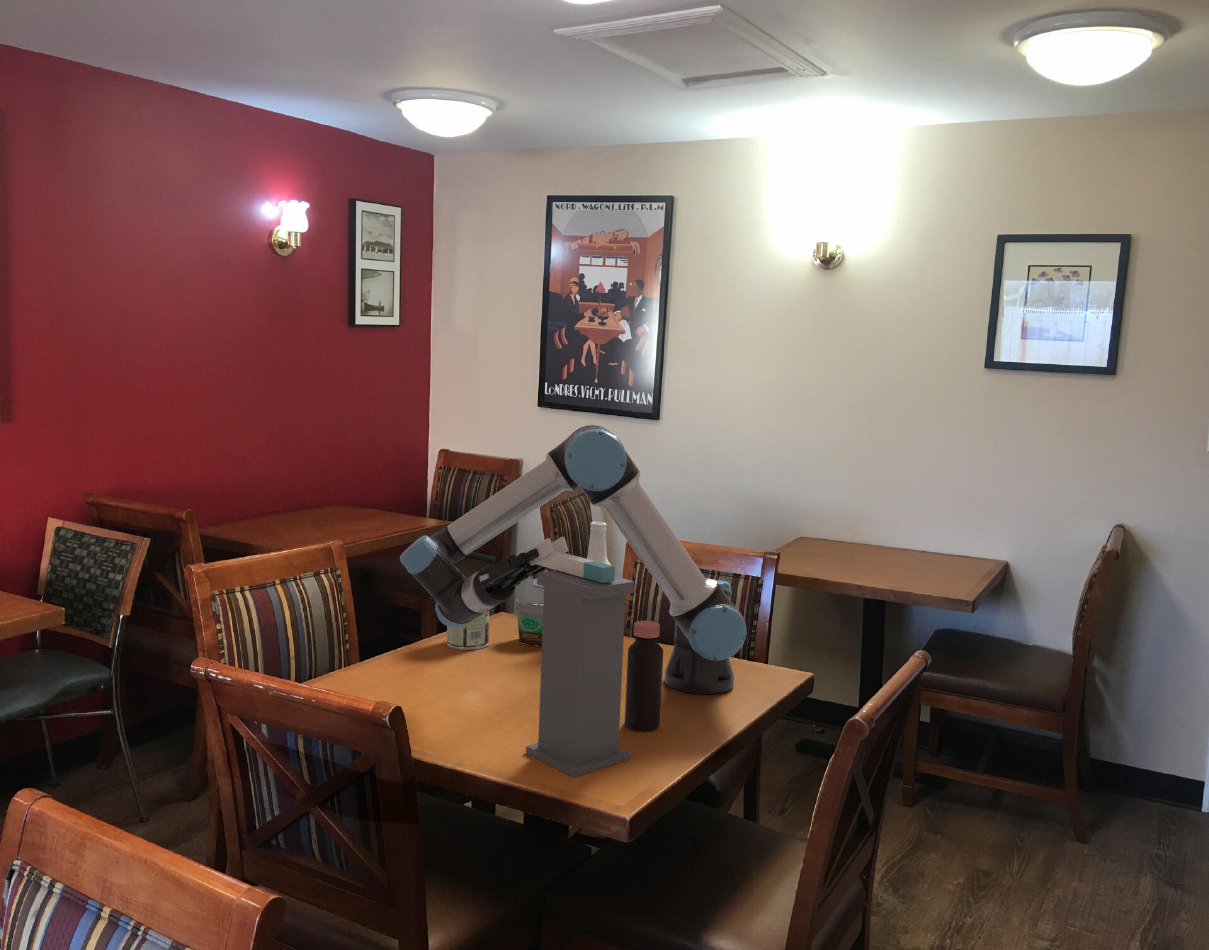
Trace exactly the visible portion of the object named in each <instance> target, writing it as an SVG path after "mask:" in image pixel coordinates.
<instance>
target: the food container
mask: <svg viewBox="0 0 1209 950" xmlns="http://www.w3.org/2000/svg"><path fill="white" fill-rule="evenodd" d="M543 603H544V602H543ZM543 603H542V602H532V603H531V602H529V603H527V602H519V599H518V598H516V600H515V605H514V610H515V611H516V612H517V613H516V614H517V615H516V616H517V627H518V628H517V629H518V641H519V642H520V643H521V642H522V643H521V644H523V643H525V644H524V645H526V644H528V645H527V646H532V645H542V630H543Z"/></svg>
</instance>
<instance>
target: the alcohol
mask: <svg viewBox="0 0 1209 950" xmlns="http://www.w3.org/2000/svg"><path fill="white" fill-rule="evenodd" d="M589 525H590V527H589V529H590V534H589V543H588V550H587V556H586V559H589V560H593V561H597V562H601V563H604V564H608V565H612V564H611V563H610V562H609V560H608V557H607V556H608V555H607V523H606V522H604V521H592V522H590V524H589Z"/></svg>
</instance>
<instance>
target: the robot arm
mask: <svg viewBox="0 0 1209 950" xmlns="http://www.w3.org/2000/svg"><path fill="white" fill-rule="evenodd" d="M640 476H641V471H640V470H639V468H638V466H637V465H636V464H635V461H634V460H633V459H632V458H631V457H630V454H628V452H627V451H626V449H625V446H624V444H623V443H622V442H621V440H620V439H619V438H618V437H617V436H616V434H614V433H613V432H611V431H610V430H609V429H607V428H606V427H603V426H600V425H595V424H591V425H589V424H588V425H585V426H581V427H579V428H578V429H575V431H573V432H572V433H571V434H570V435H569V436H568V437H567V438H565V439H564V440H563V441H562V442H561V443H559V444H558V445H557V446H556V447H554V448H553V449H552V450H550V451H549V452H547V453H546V457H545V460H544V461H542V462H541V463H539V464H537V465H536V466H535V467H533V468H531V469H530V470H529V471H527V472H526V473H524V474H523V475H521V476H520V477H518V478H517V479H515V480H514V481H512V482H511V483H509V484H508V485H506V486H504V487H503V488H502V489H500V490H499V491H498V492H496V493H494V494H493V495H492V496H490V497H489V498H487V499H486V500H484V501H483V502H481V503H480V504H477V506H475V507H473V508H472V509H470V511H468V512H466V513H464V514H463V515H462V516H460V517H459V518H457V519H456V520H454V521H453V522H452V523H449V524H448V525H447V526H446V527H444V528H442V529H441V530H440V531H437V533H434V534H433V533H432V534H431V535H429V536H428V535H422V536H420V537H419V538H417V539H416V540H415V541H414V542H412V543H411V544H410V546H408V547H407V548H406V549H405V550H404V551H403V552H402V553H401V554H400V556H399V561H400V562H401V564H402V565H403V566H404V567H405V569H406V570H407V572H408V574H411V575H412V576H413V578H414V579H415V580H416V581H417V582H418V583H419V584H420V585H421V586H422V587H423V589H424V590H425V591H426V592H427V593H428V594H429V595H430V596H431V597H432V598H433V600H434V601H435V609H434V610H435V613H436V615H437V618H438V620H439V622H441V623H442V624H443V625H444V626H446V627H447V626H449V627H460V626H462V625H464V624H467V623H469V622H471V621H472V620H474V619H475V618H477V617H478V616H480V615H481V614H483V613H485V614H488V613H489V614H490V610H491V609H492V608H495V607H496V606H498V605H500V604H502V603H504V602H505V601H507V600H509V599H510V598H511V597H512V596H513V594H514V593H515V590H516V586H519V585H521V583H522V582H523V581H526V580H527V579H532V580H537V573H540V572H547V571H548V570H549V569H550V568H547V567H544V566H540V565H537V564H536V563H538V562H540V561H541V560H543V559H545V558H546V557H548V556H549V555H551V554H553V553H554V551H558V552H562V553H566V554H567V553H568V552H569V547H568V544H567V540H566V538H565V536H561V537H559V538H557V539H555V540H554V541H552V540H551V538H550V537H549V538H546V539H545V538H544V540H542V541H540V542H539V543H537V544H536V545H535V546H532V547H533V548H531V549H530V550H528V551H527V553H526V552H521V553H519V554H518V555H517V554H511V555H509V556H508V557H506V558H504V559H503V560H501V561H499V562H497V563H490V564H488V565H486V566H484V567H483V568H482V569H480V570H478V571H476V572H475V573H473V574H472V575H470V576H468V577H466V576H465V574H463V572H462V571H461V570H460V569H459V568H458V567H457V566H456V565H455V564H457V563H458V562H460V561H462V560H463V559H464V558H465V557H467V556H468V555H470V554H471V553H473V552H474V551H475V550H477V549H479V548H480V547H482V546H483V545H485V544H486V543H487V542H489V541H491V540H492V539H494V538H495V537H497V536H498V535H500V534H501V533H503V532H504V531H506V530H507V529H509V528H510V527H512V526H513V525H515V524H517V523H518V522H519V521H521V520H522V519H524V518H526V517H527V516H528V515H530V514H531V513H533V512H535V511H536V510H537V509H539V508H540V507H542V506H543V505H545V504H546V503H548V502H549V501H551V500H552V499H555V498H556V497H557V496H559V495H560V494H562V493H563V492H564V491H570V492H573V491H574V490H577V488H580V490H581V491H582V492H583V494H584V495H585V496H586V498H587V499H588V501H589V502H590V504H591V505H592V506H594V507H598V508H599V507H600V508H602V509H604V510H605V511H606V513H607V514H608V516H609V517H610V519H611V520H612V522H613V523H614V525H615V526H616V527H617V529H619V531H620V533H621V534H622V536H623V537H624V539H625V540H626V541H627V543H628V545H629V546H630V547H631V549H632V550H633V551H634V553H635V554H636V555H637V557H638V558H639V560H640V561H641V562H642V563H643V565H644V566H645V569H647V571H648V572H649V574H650V575H651V577H652V578H653V579H654V581H655V582H656V584H657V585H658V586H659V587H660V590H661V591H662V592H663V594H664V595H665V596H666V597H667V599H668V601H669V602H670V606H669V611H668V612H669V615H670V616H671V617H672V619H673V620H674V622H675V623H674V624H675V626H674V629H675V630H674V645H673V649H672V652H671V654H670V657H669V659H668V662H667V665H666V667H665V670H664V683H665V684H666V686H668V687H670V688H672V689H674V690H677V691H680V692H686V693H690V694H691V693H692V694H701V695H712V694H721V693H726V692H728V691H730V690H733V688H734V687H735V685H734V684H735V683H734V682H735V674H734V672H733V671H734V670H733V666H732V663H731V657H733V656H735V654H737V653H738V652H739V651H740V650H741V648H742V647H743V645H744V643H745V640H746V637H747V625H746V621H745V618H744V616H743V614H742V612H741V611H739V609H737V608H736V606H735V605H734V603H733V602H732V601H731V600H732V599H731V598H732V594H733V593H732V586H731V583H730V582H728V581H724V580H717V579H711V578H707V577H706V576H705V575H704V574H703V573H702V571H701V570H700V568H699V567H698V565H697V564H696V563H695V561H694V560H693V558H692V557H691V555H690V554H689V552H688V551H687V550H686V549H685V547H684V545H683V544H682V542H681V541H680V539H679V538H678V536H677V535H676V534H675V533H674V531H673V530H672V528H671V527H670V525H669V524H668V523H667V521H666V520H665V518H664V516H662V513H660V511H659V510H658V509H657V507H656V506H655V504H654V503H653V501H652V500H651V498H650V497H649V496H648V494H647V492H646V491H645V490H644V488H643V487H642V485H641V484H640Z"/></svg>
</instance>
